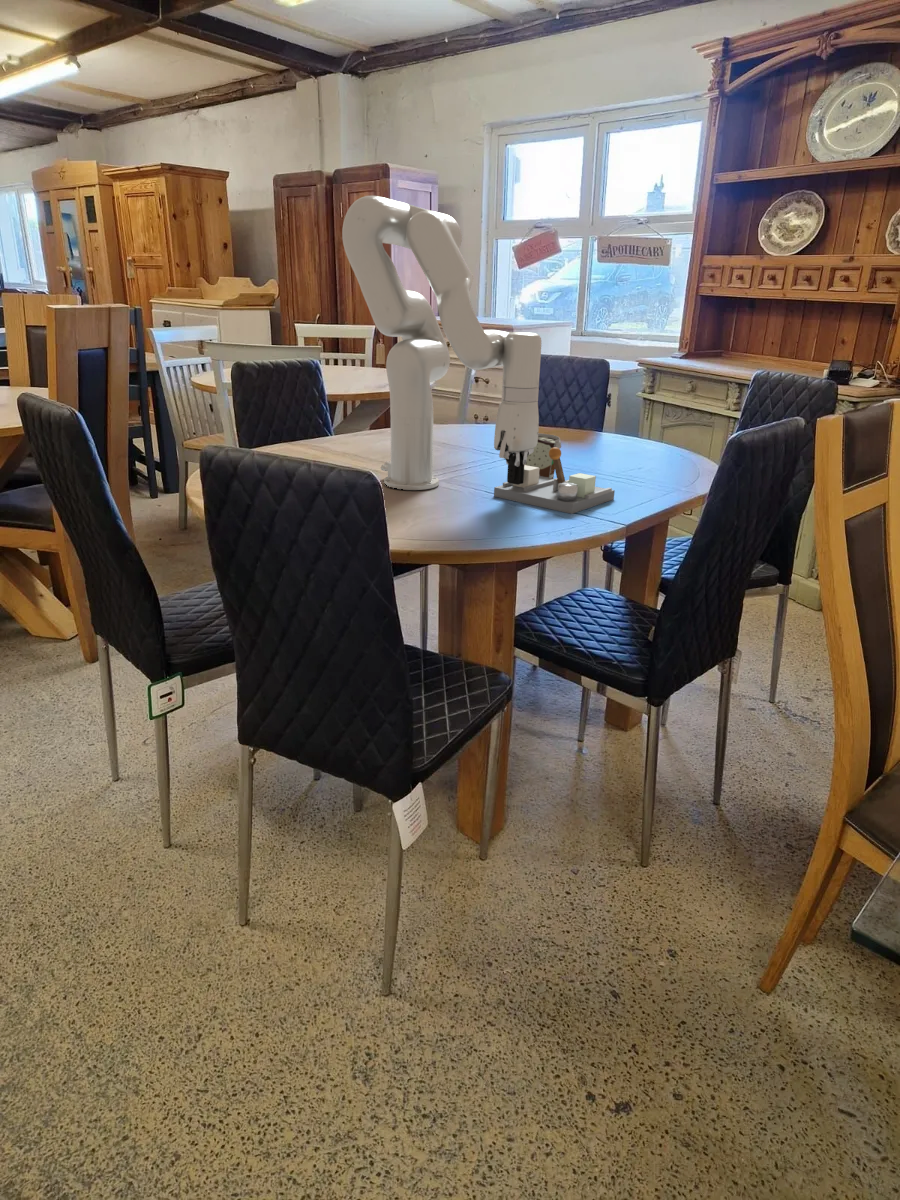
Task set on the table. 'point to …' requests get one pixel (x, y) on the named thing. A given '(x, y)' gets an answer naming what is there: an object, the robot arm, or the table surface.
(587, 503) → the panel
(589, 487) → the slider green
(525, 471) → the block
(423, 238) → the robot arm
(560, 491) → the button
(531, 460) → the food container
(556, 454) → the lever
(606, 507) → the table surface
